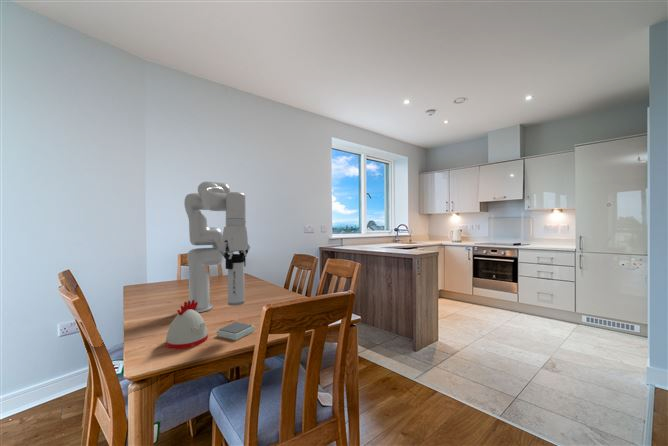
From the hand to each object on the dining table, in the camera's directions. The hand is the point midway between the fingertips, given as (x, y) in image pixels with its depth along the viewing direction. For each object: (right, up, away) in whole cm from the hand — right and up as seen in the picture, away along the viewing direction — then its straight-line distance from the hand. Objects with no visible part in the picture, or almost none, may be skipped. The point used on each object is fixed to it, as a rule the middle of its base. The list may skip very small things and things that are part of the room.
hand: (235, 267), depth 112 cm
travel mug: (0, -15, 0) cm, 15 cm away
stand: (0, -27, 0) cm, 27 cm away
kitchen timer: (-16, -27, -7) cm, 32 cm away
